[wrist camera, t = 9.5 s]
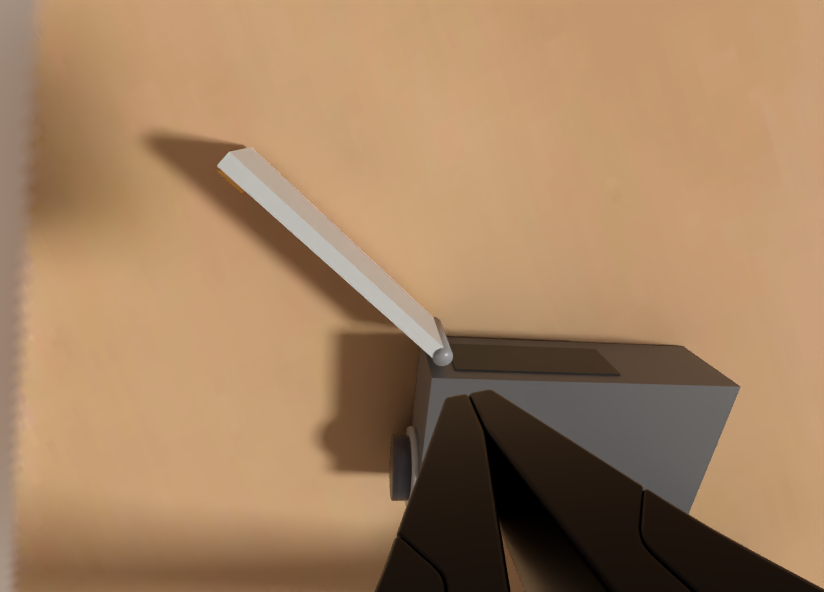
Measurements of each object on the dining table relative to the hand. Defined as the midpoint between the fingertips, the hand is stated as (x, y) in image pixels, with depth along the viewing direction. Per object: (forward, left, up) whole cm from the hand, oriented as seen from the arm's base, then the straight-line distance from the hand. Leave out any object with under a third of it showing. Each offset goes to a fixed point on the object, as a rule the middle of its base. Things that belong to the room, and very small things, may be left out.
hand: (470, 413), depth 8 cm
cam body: (-7, +8, -11) cm, 16 cm away
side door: (+3, 0, -11) cm, 11 cm away
